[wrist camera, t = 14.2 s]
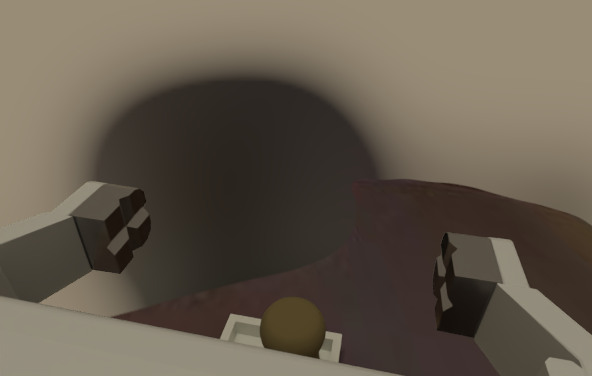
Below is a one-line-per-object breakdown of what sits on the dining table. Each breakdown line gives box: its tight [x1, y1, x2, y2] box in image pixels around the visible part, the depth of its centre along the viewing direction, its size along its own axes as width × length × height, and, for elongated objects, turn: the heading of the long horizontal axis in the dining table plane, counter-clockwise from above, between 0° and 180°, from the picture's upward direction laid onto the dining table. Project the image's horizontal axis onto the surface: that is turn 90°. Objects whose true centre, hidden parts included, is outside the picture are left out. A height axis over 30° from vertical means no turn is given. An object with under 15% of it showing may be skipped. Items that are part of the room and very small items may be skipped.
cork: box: [260, 297, 326, 359], centre depth 34 cm, size 6×6×11 cm
